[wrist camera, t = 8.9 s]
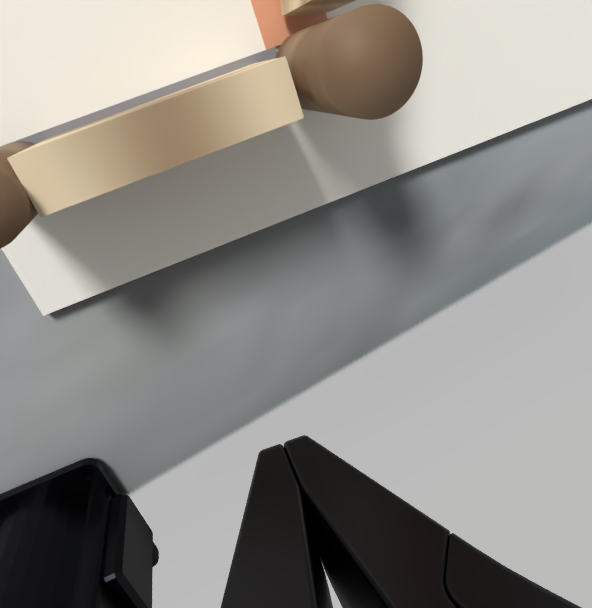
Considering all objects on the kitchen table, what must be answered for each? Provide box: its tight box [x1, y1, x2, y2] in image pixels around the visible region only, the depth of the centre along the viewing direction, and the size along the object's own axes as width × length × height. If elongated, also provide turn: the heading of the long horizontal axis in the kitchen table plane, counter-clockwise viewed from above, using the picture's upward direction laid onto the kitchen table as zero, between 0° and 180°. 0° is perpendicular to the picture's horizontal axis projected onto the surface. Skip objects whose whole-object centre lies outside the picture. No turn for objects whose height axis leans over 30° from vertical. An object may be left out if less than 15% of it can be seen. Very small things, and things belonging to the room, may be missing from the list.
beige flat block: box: [0, 56, 304, 248], centre depth 14 cm, size 9×2×5 cm, turn 109°
